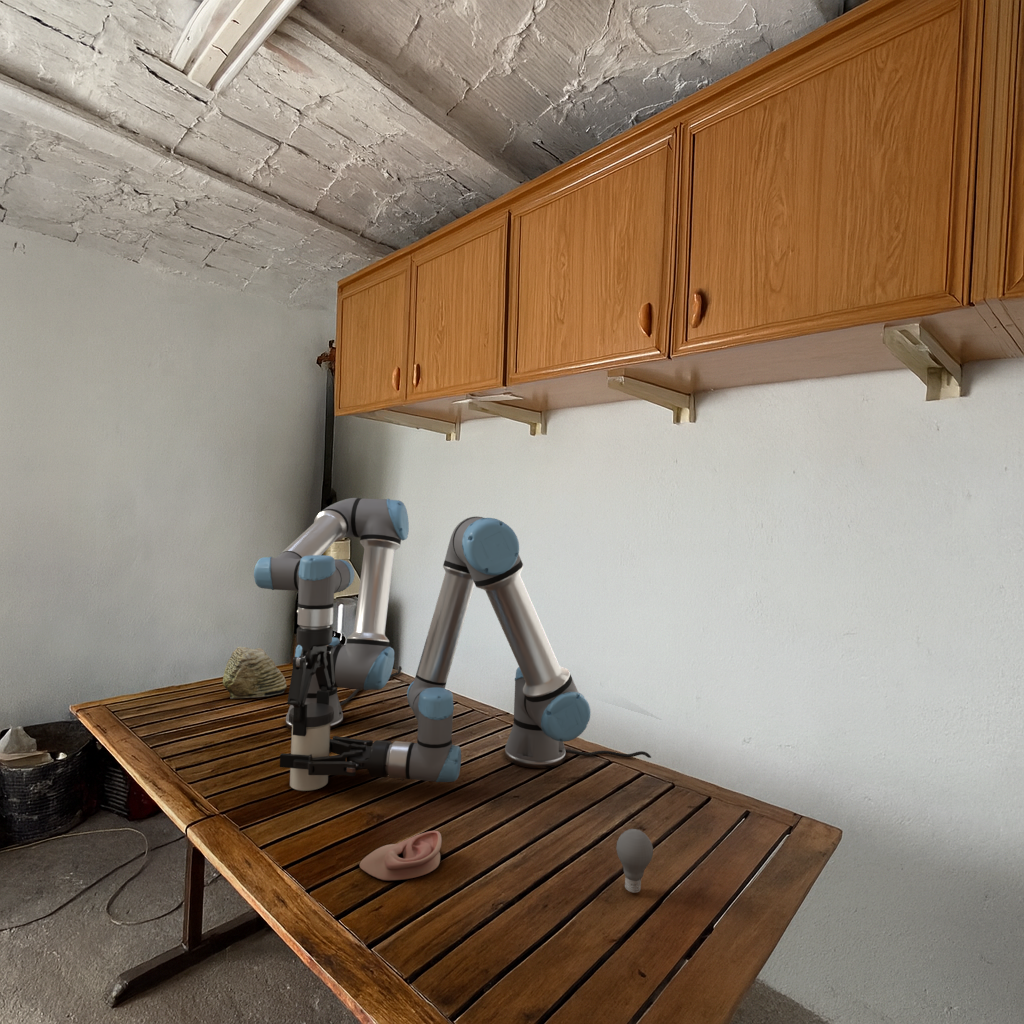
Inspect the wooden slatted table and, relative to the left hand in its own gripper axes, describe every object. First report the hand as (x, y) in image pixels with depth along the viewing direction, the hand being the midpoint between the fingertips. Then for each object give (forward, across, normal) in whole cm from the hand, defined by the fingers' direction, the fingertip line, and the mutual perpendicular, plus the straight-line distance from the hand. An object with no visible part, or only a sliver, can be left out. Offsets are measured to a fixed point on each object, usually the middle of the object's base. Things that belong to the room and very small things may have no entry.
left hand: (311, 726), depth 140 cm
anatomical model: (+12, +24, +31) cm, 41 cm away
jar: (+12, 0, 0) cm, 12 cm away
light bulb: (+12, +21, +71) cm, 75 cm away
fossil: (+12, -50, -46) cm, 69 cm away
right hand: (+6, +1, -5) cm, 8 cm away
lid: (-3, 0, 0) cm, 3 cm away
